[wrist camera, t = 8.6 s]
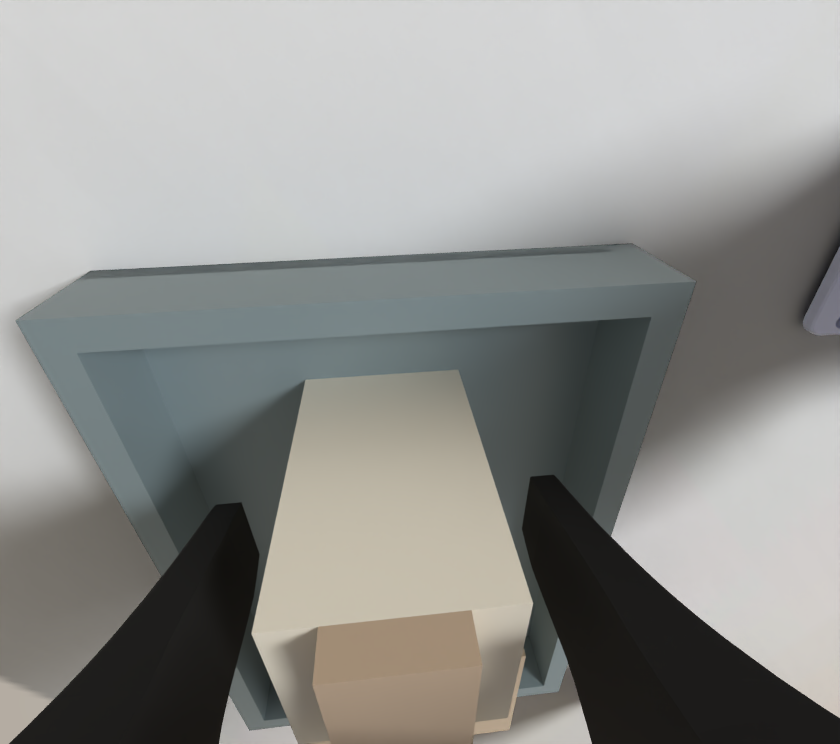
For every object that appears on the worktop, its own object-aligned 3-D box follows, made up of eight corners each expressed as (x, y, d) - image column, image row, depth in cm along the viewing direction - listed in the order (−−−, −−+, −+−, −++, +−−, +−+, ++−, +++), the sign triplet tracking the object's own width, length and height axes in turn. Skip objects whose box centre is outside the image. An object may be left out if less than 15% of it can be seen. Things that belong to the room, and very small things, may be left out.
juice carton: (458, 369, 13) (550, 657, 6) (454, 476, 15) (518, 766, 9) (305, 379, 13) (238, 693, 6) (325, 487, 15) (293, 796, 8)
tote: (632, 243, 12) (696, 281, 10) (538, 629, 23) (558, 691, 20) (90, 270, 11) (15, 320, 9) (262, 661, 22) (249, 730, 19)
